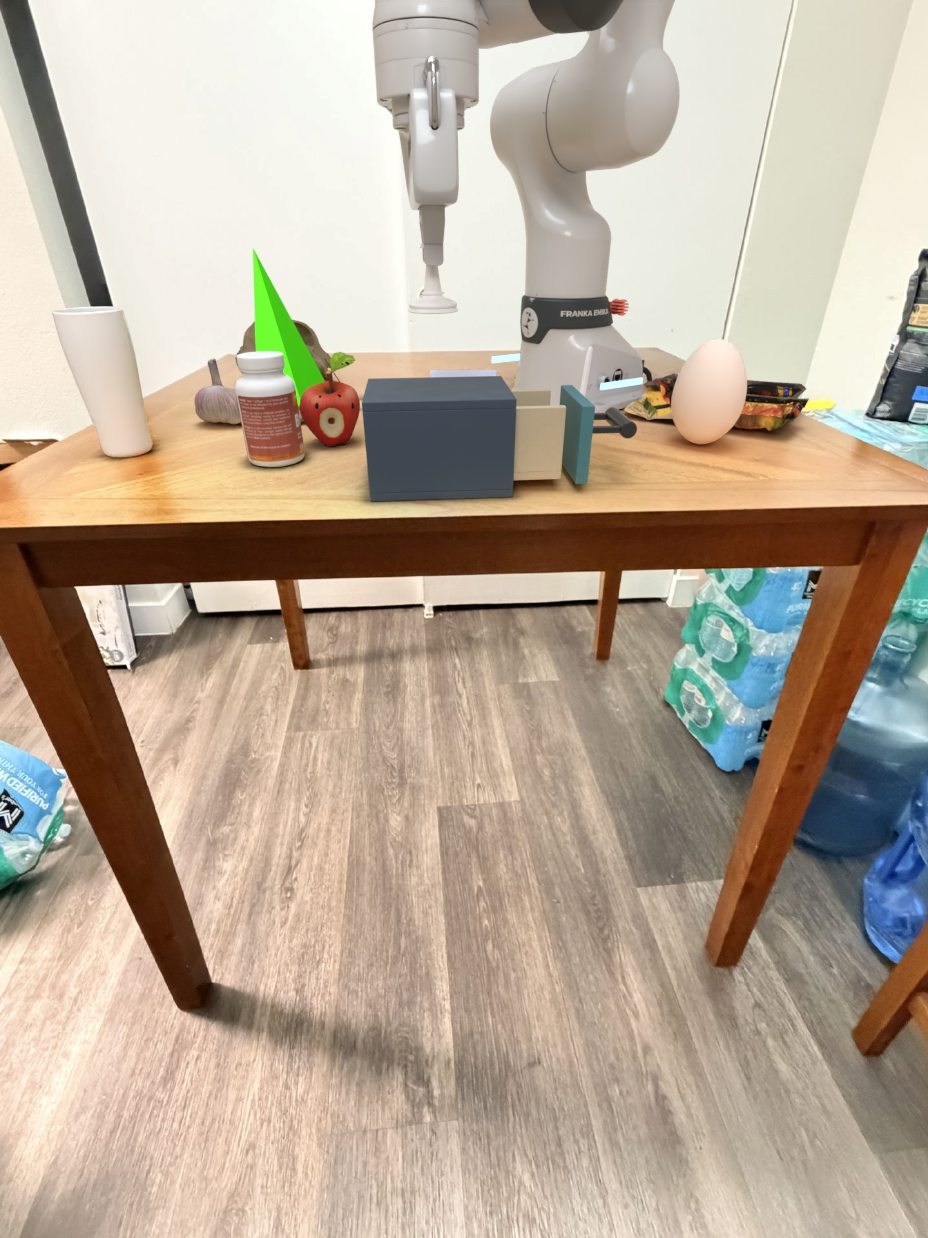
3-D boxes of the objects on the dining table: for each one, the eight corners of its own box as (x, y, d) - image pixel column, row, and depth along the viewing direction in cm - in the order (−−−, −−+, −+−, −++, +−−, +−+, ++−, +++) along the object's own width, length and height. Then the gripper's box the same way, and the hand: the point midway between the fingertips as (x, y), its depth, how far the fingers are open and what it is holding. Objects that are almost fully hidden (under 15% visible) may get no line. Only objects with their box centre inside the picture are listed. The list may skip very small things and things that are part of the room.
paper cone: (208, 265, 86) (257, 436, 84) (209, 236, 81) (260, 418, 79) (290, 265, 90) (337, 427, 89) (295, 238, 85) (345, 410, 84)
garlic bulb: (189, 421, 84) (174, 357, 80) (240, 412, 88) (229, 351, 84) (211, 432, 79) (196, 365, 75) (265, 422, 83) (254, 358, 79)
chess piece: (424, 315, 60) (419, 188, 55) (400, 310, 63) (393, 191, 58) (467, 311, 62) (466, 189, 57) (441, 307, 66) (438, 192, 60)
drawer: (609, 453, 69) (617, 383, 65) (636, 482, 61) (647, 404, 57) (452, 457, 68) (451, 387, 64) (458, 487, 60) (457, 409, 56)
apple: (347, 454, 72) (337, 361, 66) (294, 449, 73) (280, 358, 68) (374, 436, 78) (367, 350, 73) (325, 432, 80) (315, 348, 74)
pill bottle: (314, 462, 69) (299, 355, 63) (259, 472, 66) (239, 361, 61) (294, 448, 74) (278, 347, 68) (241, 457, 71) (221, 352, 65)
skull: (317, 383, 91) (287, 283, 88) (221, 415, 99) (189, 325, 95) (370, 381, 106) (346, 296, 103) (284, 410, 114) (259, 331, 110)
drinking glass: (83, 457, 71) (34, 311, 63) (130, 441, 77) (91, 305, 69) (127, 463, 69) (83, 313, 61) (173, 447, 74) (138, 307, 67)
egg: (653, 445, 74) (670, 340, 68) (679, 430, 79) (696, 332, 73) (722, 457, 70) (746, 346, 64) (743, 441, 75) (767, 337, 69)
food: (660, 370, 95) (657, 395, 97) (614, 393, 82) (611, 421, 84) (820, 384, 85) (812, 411, 87) (796, 413, 72) (788, 444, 74)
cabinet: (499, 462, 69) (501, 375, 64) (512, 497, 60) (516, 398, 55) (375, 466, 68) (368, 378, 63) (370, 501, 59) (361, 402, 54)
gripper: (477, 48, 45) (476, 269, 52) (455, 99, 62) (456, 260, 69) (388, 47, 44) (400, 270, 52) (391, 99, 62) (400, 260, 69)
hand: (432, 264), depth 61 cm, fingers closed on chess piece
